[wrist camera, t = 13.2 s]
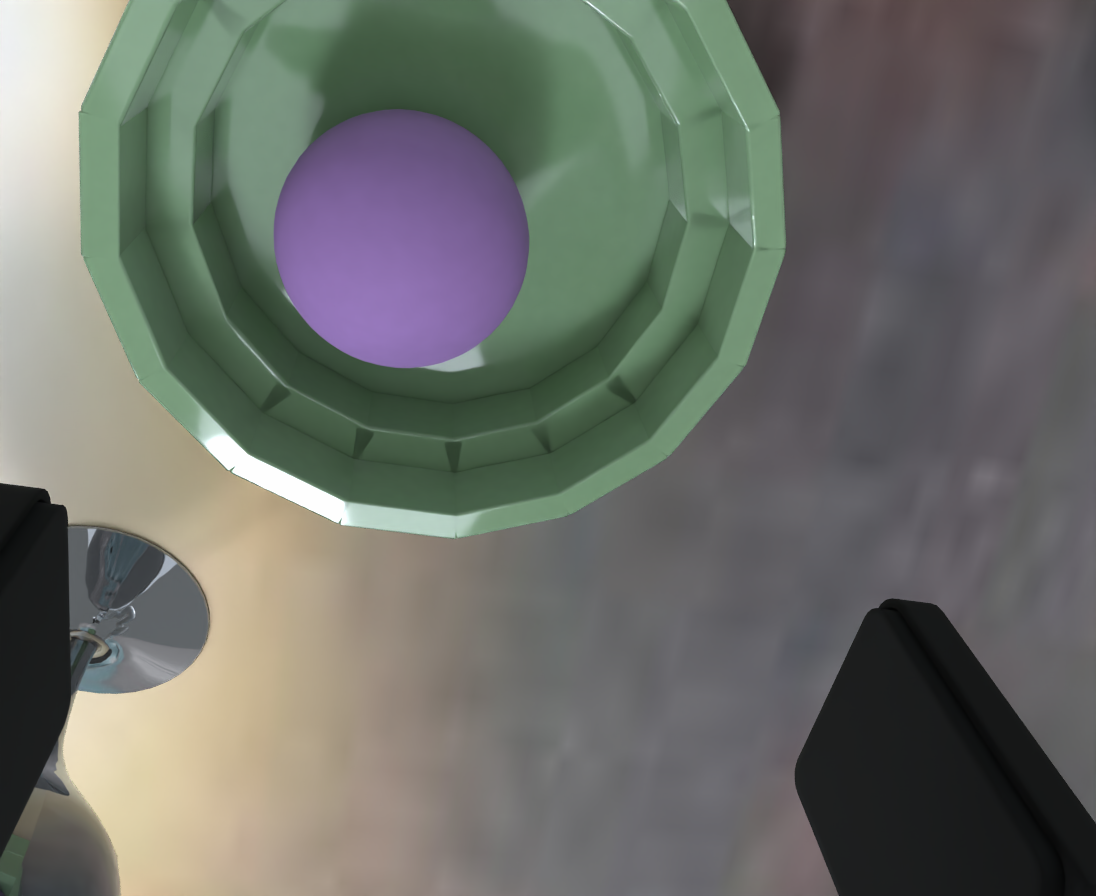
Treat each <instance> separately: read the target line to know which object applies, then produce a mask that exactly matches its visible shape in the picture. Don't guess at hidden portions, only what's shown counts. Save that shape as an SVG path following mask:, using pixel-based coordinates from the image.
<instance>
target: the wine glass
mask: <svg viewBox="0 0 1096 896" xmlns="http://www.w3.org/2000/svg"><path fill="white" fill-rule="evenodd" d="M68 555H69V606H70V657H71V701H70V707H69V711H68V715H67V719H66V722H65V725H64V727H63V729H62V732H61V734H60V736H59V738H58V740H57V742H56V744H55V746H54V748H53V750H52V752H51V754H50V757H49V759H48V761H47V763H46V765H45V767H44V769H43V771H42V773H41V775H40V777H39V779H38V781H37V784H36V786H35V788H34V790H33V792H32V794H31V796H30V798H29V800H28V802H27V804H26V806H25V808H24V811H23V813H22V815H21V817H20V819H19V821H18V823H17V825H16V827H15V829H14V831H13V833H12V835H11V838H10V840H9V842H8V844H7V846H6V848H5V850H4V852H3V854H2V856H1V858H0V896H121V886H120V875H119V867H118V859H117V855H116V852H115V850H114V847H113V845H112V843H111V840H110V838H109V836H108V834H107V832H106V829H105V827H104V825H103V823H102V822H101V820H100V819H99V817H98V816H97V815H96V813H95V812H94V810H93V809H92V808H91V806H90V805H89V804H88V802H87V801H86V799H85V798H84V797H83V795H82V794H81V793H80V791H79V790H78V789H77V787H76V786H75V784H74V783H73V782H72V780H71V779H70V777H69V774H68V772H67V769H66V767H65V762H64V756H63V743H64V737H65V733H66V729H67V725H68V720H69V717H70V713H71V710H72V706H73V703H74V700H75V697H76V694H77V691H78V690H80V691H87V692H94V693H112V694H118V693H128V692H136V691H140V690H145V689H149V688H153V687H155V686H158V685H160V684H163V683H165V682H167V681H169V680H171V679H172V678H174V677H176V676H177V675H179V674H181V673H182V672H183V671H184V670H185V669H186V668H188V667H189V666H190V665H191V664H192V663H193V662H194V661H195V659H196V658H197V657H198V655H199V654H200V653H201V651H202V649H203V647H204V645H205V642H206V640H207V637H208V631H209V626H210V622H209V610H208V606H207V603H206V599H205V596H204V594H203V592H202V590H201V588H200V587H199V585H198V583H197V581H196V580H195V579H194V578H193V576H192V575H191V574H190V573H189V571H188V570H187V569H186V568H185V567H184V566H183V565H182V564H181V563H180V562H178V561H177V560H176V559H175V558H174V557H173V556H171V555H170V554H168V553H167V552H165V551H164V550H162V549H161V548H159V547H158V546H156V545H154V544H152V543H150V542H148V541H146V540H143V539H141V538H139V537H137V536H133V535H130V534H127V533H124V532H121V531H118V530H112V529H107V528H101V527H91V526H69V527H68Z"/></svg>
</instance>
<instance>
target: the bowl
mask: <svg viewBox="0 0 1096 896" xmlns="http://www.w3.org/2000/svg"><path fill="white" fill-rule="evenodd" d="M390 109H405V110H415V111H420V112H425V113H429V114H433V115H437V116H440V117H442V118H445V119H448V120H450V121H452V122H454V123H456V124H458V125H460V126H462V127H464V128H465V129H467V130H468V131H470V132H471V133H472V134H474V135H475V136H477V137H478V138H479V139H480V140H481V141H483V142H484V143H485V144H486V145H487V146H488V147H489V148H490V149H491V150H492V151H493V152H494V153H495V154H496V155H497V157H498V158H499V159H500V160H501V161H502V163H503V164H504V166H505V167H506V169H507V170H508V171H509V173H510V175H511V177H512V178H513V180H514V182H515V184H516V186H517V188H518V191H519V193H520V196H521V198H522V201H523V205H524V209H525V212H526V217H527V222H528V230H529V255H528V262H527V269H526V274H525V277H524V281H523V284H522V287H521V289H520V292H519V294H518V296H517V298H516V300H515V302H514V305H513V307H512V308H511V310H510V311H509V313H508V314H507V316H506V317H505V318H504V320H503V321H502V322H501V324H500V325H499V326H498V327H497V328H496V329H495V330H494V331H493V332H492V333H491V335H489V336H488V337H487V338H486V339H484V340H483V341H482V342H481V343H479V344H478V345H477V346H475V347H474V348H473V349H471V350H469V351H467V352H466V353H464V354H462V355H460V356H458V357H455V358H453V359H450V360H448V361H445V362H443V363H439V364H435V365H431V366H424V367H415V368H394V367H387V366H381V365H376V364H373V363H369V362H365V361H362V360H360V359H357V358H355V357H352V356H350V355H348V354H346V353H344V352H342V351H341V350H339V349H337V348H336V347H334V346H333V345H331V344H330V343H329V342H327V341H326V340H325V339H323V338H322V337H321V336H320V335H319V334H318V333H317V332H315V331H314V330H313V329H312V328H311V327H310V326H309V324H308V323H307V322H306V321H305V320H304V319H303V317H302V316H301V315H300V313H299V312H298V311H297V309H296V308H295V306H294V305H293V303H292V301H291V299H290V297H289V296H288V294H287V292H286V289H285V287H284V284H283V282H282V279H281V276H280V273H279V270H278V266H277V263H276V257H275V251H274V219H275V211H276V207H277V203H278V199H279V196H280V193H281V190H282V187H283V185H284V182H285V180H286V178H287V176H288V174H289V173H290V171H291V169H292V168H293V166H294V165H295V163H296V162H297V160H298V158H299V157H300V156H301V155H302V153H303V152H304V151H305V150H306V149H307V148H308V147H309V146H310V145H311V144H312V143H313V142H314V141H315V140H316V139H317V138H319V137H320V136H321V135H322V134H324V133H325V132H326V131H327V130H329V129H331V128H333V127H334V126H336V125H338V124H340V123H342V122H343V121H345V120H347V119H350V118H353V117H355V116H358V115H361V114H365V113H370V112H375V111H380V110H390ZM779 114H780V111H779V109H778V107H777V105H776V102H775V100H774V98H773V96H772V94H771V92H770V90H769V88H768V86H767V84H766V82H765V80H764V77H763V75H762V73H761V71H760V69H759V67H758V65H757V63H756V61H755V59H754V57H753V55H752V52H751V50H750V48H749V46H748V44H747V42H746V40H745V38H744V36H743V34H742V32H741V30H740V27H739V25H738V23H737V21H736V19H735V17H734V15H733V13H732V11H731V9H730V7H729V5H728V2H727V0H129V1H128V4H127V6H126V8H125V10H124V12H123V15H122V17H121V19H120V21H119V24H118V26H117V28H116V30H115V32H114V35H113V37H112V39H111V41H110V43H109V46H108V48H107V50H106V52H105V54H104V57H103V59H102V61H101V63H100V66H99V68H98V70H97V72H96V74H95V77H94V79H93V81H92V83H91V85H90V88H89V90H88V92H87V94H86V96H85V99H84V101H83V103H82V105H81V111H79V158H80V215H81V255H82V256H83V258H84V261H85V264H86V266H87V268H88V270H89V273H90V275H91V277H92V279H93V282H94V284H95V286H96V288H97V290H98V293H99V295H100V297H101V299H102V302H103V304H104V306H105V308H106V311H107V313H108V315H109V317H110V320H111V322H112V324H113V326H114V329H115V331H116V333H117V335H118V337H119V340H120V342H121V344H122V346H123V349H124V351H125V353H126V355H127V358H128V360H129V362H130V364H131V367H132V369H133V371H134V373H135V376H136V378H137V379H139V383H140V384H141V385H142V386H143V387H144V388H145V389H146V390H147V391H148V392H149V393H150V394H151V395H152V396H153V397H154V398H155V399H156V400H157V401H158V402H159V403H160V404H161V405H162V406H163V407H164V408H165V409H166V410H167V411H168V412H169V413H170V414H171V415H172V416H173V417H174V418H175V419H176V420H177V421H178V422H179V423H180V424H181V425H182V426H183V427H184V428H185V429H186V430H187V431H188V432H189V433H190V434H191V435H192V436H193V437H194V438H195V439H196V440H197V441H198V442H199V443H200V444H201V445H202V446H203V447H204V448H205V449H206V450H207V451H208V452H209V453H210V454H211V455H212V456H213V457H214V458H215V459H216V460H217V461H218V462H219V463H220V464H221V465H222V466H223V467H224V468H225V469H226V470H228V471H230V472H231V473H232V474H234V475H236V476H239V477H241V478H243V479H245V480H247V481H249V482H251V483H253V484H255V485H257V486H259V487H262V488H264V489H266V490H268V491H270V492H272V493H274V494H276V495H278V496H280V497H283V498H285V499H287V500H289V501H291V502H293V503H295V504H297V505H299V506H301V507H303V508H306V509H308V510H310V511H312V512H314V513H316V514H318V515H320V516H322V517H324V518H326V519H329V520H331V521H333V522H335V523H338V524H339V523H340V525H344V526H352V527H360V528H368V529H377V530H385V531H393V532H401V533H409V534H418V535H426V536H434V537H442V538H451V539H455V538H463V537H468V536H473V535H478V534H482V533H487V532H492V531H497V530H502V529H507V528H512V527H517V526H522V525H527V524H532V523H537V522H542V521H547V520H551V519H556V518H561V517H566V516H568V514H569V515H571V514H573V513H575V512H576V511H578V510H580V509H581V508H583V507H585V506H587V505H588V504H590V503H592V502H593V501H595V500H597V499H599V498H600V497H602V496H604V495H605V494H607V493H609V492H611V491H612V490H614V489H616V488H617V487H619V486H621V485H623V484H624V483H626V482H628V481H629V480H631V479H633V478H635V477H636V476H638V475H640V474H641V473H643V472H645V471H647V470H648V469H650V468H652V467H653V466H655V465H657V464H658V463H660V462H662V461H664V460H665V459H666V458H667V456H670V455H671V454H672V453H673V452H674V450H675V449H676V448H677V447H678V446H679V444H680V443H681V442H682V441H683V440H684V439H685V437H686V436H687V435H688V434H689V433H690V431H691V430H692V429H693V428H694V427H695V425H696V424H697V423H698V422H699V421H700V420H701V418H702V417H703V416H704V415H705V414H706V412H707V411H708V410H709V409H710V408H711V406H712V405H713V404H714V403H715V402H716V401H717V399H718V398H719V397H720V396H721V395H722V393H723V392H724V391H725V390H726V389H727V387H728V386H729V385H730V384H731V383H732V382H733V380H734V379H735V378H736V377H737V376H738V374H739V373H740V372H741V371H742V370H743V367H744V366H746V363H747V360H748V358H749V355H750V352H751V349H752V346H753V343H754V340H755V338H756V335H757V332H758V329H759V326H760V323H761V321H762V318H763V315H764V312H765V309H766V306H767V303H768V301H769V298H770V295H771V292H772V289H773V286H774V284H775V281H776V278H777V275H778V272H779V269H780V266H781V264H782V261H783V258H784V255H785V252H786V249H785V248H786V229H785V207H784V184H783V162H782V140H781V118H780V115H779Z"/></svg>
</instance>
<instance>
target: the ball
mask: <svg viewBox="0 0 1096 896" xmlns="http://www.w3.org/2000/svg"><path fill="white" fill-rule="evenodd" d="M274 251H275V257H276V263H277V266H278V270H279V273H280V276H281V279H282V282H283V284H284V287H285V289H286V292H287V294H288V296H289V297H290V299H291V301H292V303H293V305H294V306H295V308H296V309H297V311H298V312H299V313H300V315H301V316H302V317H303V319H304V320H305V321H306V322H307V323H308V324H309V326H310V327H311V328H312V329H313V330H314V331H315V332H317V333H318V334H319V335H320V336H321V337H322V338H323V339H325V340H326V341H327V342H329V343H330V344H331V345H333V346H334V347H336V348H337V349H339V350H341V351H342V352H344V353H346V354H348V355H350V356H352V357H355V358H357V359H360V360H362V361H365V362H369V363H373V364H376V365H381V366H387V367H394V368H415V367H424V366H431V365H435V364H439V363H443V362H445V361H448V360H450V359H453V358H455V357H458V356H460V355H462V354H464V353H466V352H467V351H469V350H471V349H473V348H474V347H475V346H477V345H478V344H479V343H481V342H482V341H483V340H484V339H486V338H487V337H488V336H489V335H491V333H492V332H493V331H494V330H495V329H496V328H497V327H498V326H499V325H500V324H501V322H502V321H503V320H504V318H505V317H506V316H507V314H508V313H509V311H510V310H511V308H512V307H513V305H514V302H515V300H516V298H517V296H518V294H519V292H520V289H521V287H522V284H523V281H524V277H525V274H526V269H527V262H528V255H529V230H528V222H527V217H526V212H525V209H524V205H523V201H522V198H521V196H520V193H519V191H518V188H517V186H516V184H515V182H514V180H513V178H512V177H511V175H510V173H509V171H508V170H507V169H506V167H505V166H504V164H503V163H502V161H501V160H500V159H499V158H498V157H497V155H496V154H495V153H494V152H493V151H492V150H491V149H490V148H489V147H488V146H487V145H486V144H485V143H484V142H483V141H481V140H480V139H479V138H478V137H477V136H475V135H474V134H472V133H471V132H470V131H468V130H467V129H465V128H464V127H462V126H460V125H458V124H456V123H454V122H452V121H450V120H448V119H445V118H442V117H440V116H437V115H433V114H429V113H425V112H420V111H415V110H405V109H390V110H380V111H375V112H370V113H365V114H361V115H358V116H355V117H353V118H350V119H347V120H345V121H343V122H342V123H340V124H338V125H336V126H334V127H333V128H331V129H329V130H327V131H326V132H325V133H324V134H322V135H321V136H320V137H319V138H317V139H316V140H315V141H314V142H313V143H312V144H311V145H310V146H309V147H308V148H307V149H306V150H305V151H304V152H303V153H302V155H301V156H300V157H299V158H298V160H297V162H296V163H295V165H294V166H293V168H292V169H291V171H290V173H289V174H288V176H287V178H286V180H285V182H284V185H283V187H282V190H281V193H280V196H279V199H278V203H277V207H276V211H275V219H274Z"/></svg>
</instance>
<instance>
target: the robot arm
mask: <svg viewBox="0 0 1096 896" xmlns="http://www.w3.org/2000/svg"><path fill="white" fill-rule="evenodd" d="M70 701H71V657H70V606H69V555H68V516H67V510H66V507H65V506H63V505H58V504H51V501H50V496H49V494H48V492H47V491H46V490H45V489H41V488H33V487H26V486H18V485H10V484H2V483H0V858H1V856H2V854H3V852H4V850H5V848H6V846H7V844H8V842H9V840H10V838H11V835H12V833H13V831H14V829H15V827H16V825H17V823H18V821H19V819H20V817H21V815H22V813H23V811H24V808H25V806H26V804H27V802H28V800H29V798H30V796H31V794H32V792H33V790H34V788H35V786H36V784H37V781H38V779H39V777H40V775H41V773H42V771H43V769H44V767H45V765H46V763H47V761H48V759H49V757H50V754H51V752H52V750H53V748H54V746H55V744H56V742H57V740H58V738H59V736H60V734H61V732H62V729H63V727H64V725H65V722H66V719H67V715H68V711H69V707H70ZM795 785H796V789H797V793H798V795H799V798H800V800H801V803H802V805H803V808H804V810H805V813H806V815H807V818H808V820H809V822H810V825H811V827H812V830H813V832H814V835H815V837H816V840H817V842H818V845H819V847H820V850H821V852H822V855H823V857H824V860H825V862H826V865H827V867H828V870H829V872H830V875H831V877H832V880H833V882H834V885H835V887H836V889H837V892H838V894H839V896H1096V823H1095V822H1094V820H1093V819H1092V818H1091V816H1090V815H1089V813H1088V812H1087V811H1086V809H1085V808H1084V807H1083V805H1082V804H1081V802H1080V801H1079V800H1078V798H1077V797H1076V795H1075V794H1074V793H1073V791H1072V790H1071V789H1070V787H1069V786H1068V784H1067V783H1066V782H1065V780H1064V779H1063V777H1062V776H1061V775H1060V773H1059V772H1058V771H1057V769H1056V768H1055V766H1054V765H1053V764H1052V762H1051V761H1050V759H1049V758H1048V757H1047V755H1046V754H1045V753H1044V751H1043V750H1042V748H1041V747H1040V746H1039V744H1038V743H1037V741H1036V740H1035V739H1034V737H1033V736H1032V735H1031V733H1030V732H1029V730H1028V729H1027V728H1026V726H1025V725H1024V723H1023V722H1022V721H1021V719H1020V718H1019V716H1018V715H1017V714H1016V712H1015V711H1014V710H1013V708H1012V707H1011V705H1010V704H1009V703H1008V701H1007V700H1006V698H1005V697H1004V696H1003V694H1002V693H1001V692H1000V690H999V689H998V687H997V686H996V685H995V683H994V682H993V680H992V679H991V678H990V676H989V675H988V674H987V672H986V671H985V669H984V668H983V667H982V665H981V664H980V662H979V661H978V660H977V658H976V657H975V656H974V654H973V653H972V651H971V650H970V649H969V647H968V646H967V644H966V643H965V642H964V640H963V639H962V638H961V636H960V635H959V633H958V632H957V631H956V629H955V628H954V626H953V625H952V624H951V622H950V621H949V620H948V618H947V617H946V615H945V614H944V613H943V611H942V610H941V609H940V608H939V607H938V606H937V605H934V604H931V603H923V602H916V601H908V600H900V599H888V600H885V601H884V602H883V603H882V604H881V605H880V606H879V608H874V609H871V610H870V611H869V612H868V613H867V614H866V616H865V618H864V620H863V622H862V624H861V626H860V628H859V630H858V632H857V635H856V637H855V639H854V641H853V643H852V645H851V647H850V649H849V652H848V654H847V656H846V658H845V660H844V662H843V664H842V666H841V669H840V671H839V673H838V675H837V677H836V679H835V681H834V683H833V685H832V688H831V690H830V692H829V694H828V696H827V698H826V700H825V702H824V705H823V707H822V709H821V711H820V713H819V715H818V717H817V719H816V722H815V724H814V726H813V728H812V730H811V732H810V734H809V736H808V739H807V741H806V743H805V745H804V747H803V749H802V751H801V753H800V755H799V758H798V760H797V763H796V768H795Z"/></svg>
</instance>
